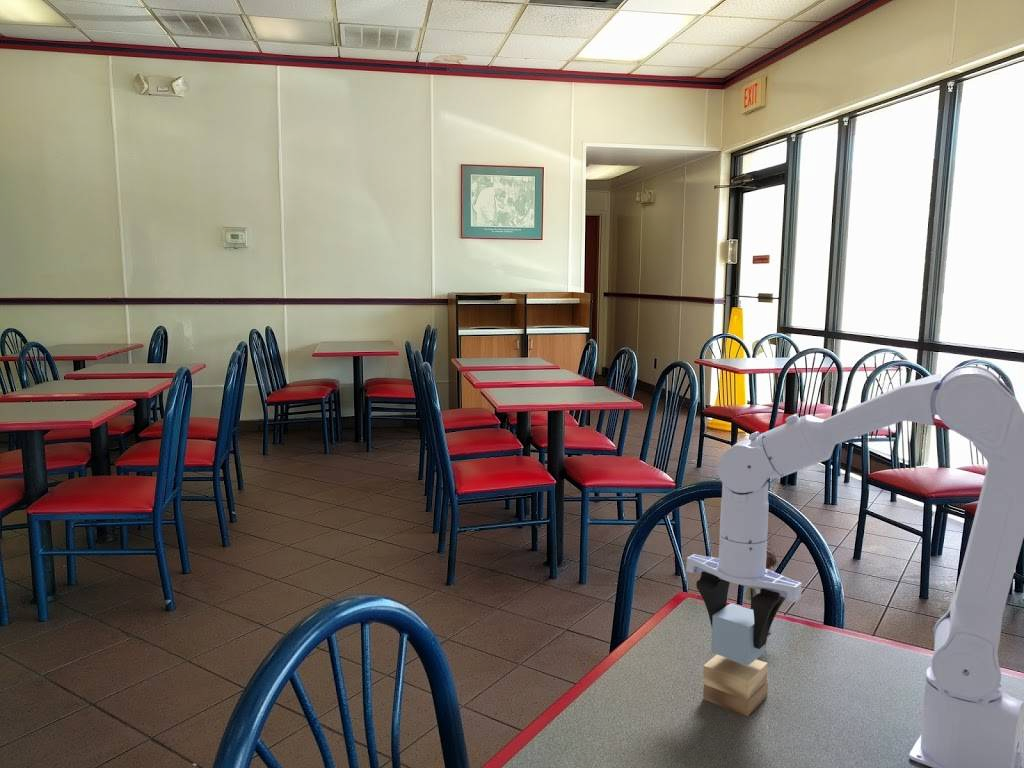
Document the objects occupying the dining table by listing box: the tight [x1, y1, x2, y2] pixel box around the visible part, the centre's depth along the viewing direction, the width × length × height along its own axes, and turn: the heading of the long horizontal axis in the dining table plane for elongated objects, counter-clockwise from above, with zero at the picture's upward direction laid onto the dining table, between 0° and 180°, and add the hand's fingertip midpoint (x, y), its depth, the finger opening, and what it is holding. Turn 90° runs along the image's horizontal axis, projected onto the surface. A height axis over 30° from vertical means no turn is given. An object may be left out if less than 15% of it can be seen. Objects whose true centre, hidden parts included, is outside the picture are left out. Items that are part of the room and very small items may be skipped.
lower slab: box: [702, 681, 769, 717], centre depth 96 cm, size 6×6×2 cm
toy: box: [744, 539, 780, 634], centre depth 115 cm, size 6×6×15 cm
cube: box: [711, 603, 767, 665], centre depth 95 cm, size 5×5×5 cm
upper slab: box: [702, 654, 768, 700], centre depth 96 cm, size 6×6×2 cm
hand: (738, 638), depth 95 cm, fingers closed on cube, 5 cm apart
